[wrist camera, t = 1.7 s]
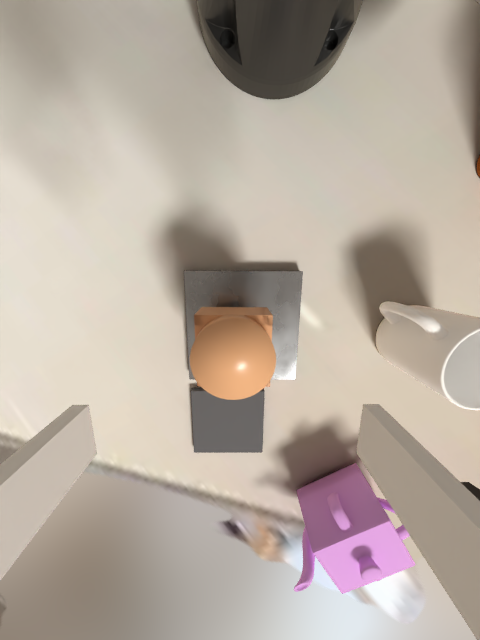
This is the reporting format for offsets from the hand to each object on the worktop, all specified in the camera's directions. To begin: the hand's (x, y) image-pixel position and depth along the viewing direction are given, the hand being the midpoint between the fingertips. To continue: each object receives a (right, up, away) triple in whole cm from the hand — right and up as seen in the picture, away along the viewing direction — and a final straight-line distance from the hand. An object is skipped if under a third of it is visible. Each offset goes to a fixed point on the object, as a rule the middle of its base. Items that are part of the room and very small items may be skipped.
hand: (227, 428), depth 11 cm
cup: (+21, +4, +18) cm, 28 cm away
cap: (0, +3, +13) cm, 13 cm away
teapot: (+15, -22, +25) cm, 36 cm away
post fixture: (0, +4, +18) cm, 19 cm away
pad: (-1, -9, +21) cm, 23 cm away
